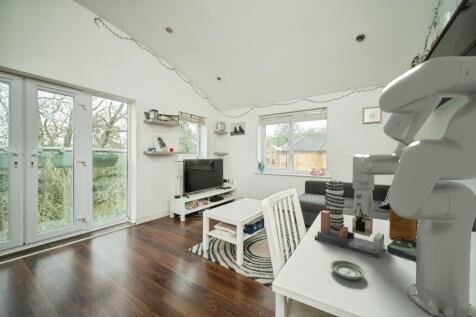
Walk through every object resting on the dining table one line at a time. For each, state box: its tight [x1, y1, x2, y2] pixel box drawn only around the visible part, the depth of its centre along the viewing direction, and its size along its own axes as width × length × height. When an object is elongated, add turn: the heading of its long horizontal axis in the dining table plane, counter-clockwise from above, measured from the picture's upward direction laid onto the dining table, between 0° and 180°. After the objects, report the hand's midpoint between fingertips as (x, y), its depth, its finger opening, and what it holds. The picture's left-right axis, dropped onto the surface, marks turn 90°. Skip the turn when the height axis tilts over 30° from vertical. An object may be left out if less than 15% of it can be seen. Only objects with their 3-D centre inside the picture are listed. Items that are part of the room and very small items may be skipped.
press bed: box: [314, 227, 386, 259], centre depth 86 cm, size 11×24×6 cm, turn 44°
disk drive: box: [386, 237, 417, 261], centre depth 79 cm, size 10×3×15 cm
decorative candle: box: [324, 179, 346, 229], centre depth 100 cm, size 9×9×25 cm
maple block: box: [351, 215, 374, 238], centre depth 82 cm, size 5×6×7 cm
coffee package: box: [388, 208, 419, 241], centre depth 91 cm, size 10×12×22 cm
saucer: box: [329, 259, 366, 280], centre depth 64 cm, size 10×10×2 cm
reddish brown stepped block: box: [320, 210, 349, 238], centre depth 90 cm, size 7×10×10 cm
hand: (362, 228), depth 82 cm, fingers closed on maple block, 5 cm apart
